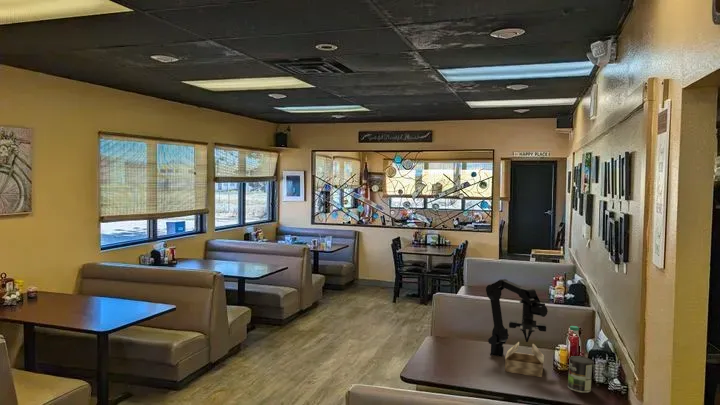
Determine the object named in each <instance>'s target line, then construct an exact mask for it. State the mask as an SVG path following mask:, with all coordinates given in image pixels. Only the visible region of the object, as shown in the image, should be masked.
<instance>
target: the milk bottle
mask: <svg viewBox="0 0 720 405" xmlns="http://www.w3.org/2000/svg"><path fill="white" fill-rule="evenodd" d="M570 330H573V332H574V333H576V334H577V335H578V337H579V346H580V352H581V350H582V341H581V337H580V335H579V330H580V327H578V326H576V325H570V326H569V331H570ZM568 336H569V334H568ZM568 336H567V337H566V341H565V345H566V344H567V343H568ZM581 353H582V352H581Z"/></svg>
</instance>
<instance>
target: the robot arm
mask: <svg viewBox="0 0 720 405" xmlns="http://www.w3.org/2000/svg"><path fill="white" fill-rule="evenodd" d="M505 289H506V290H508V291H510V292H512V293H514V294H517V296H518V297H519V298H521V300H520V301H519V303H520V304H522V313H521V314H522V316H521V322H520V323H519V322H518V321H517V320H509V322H508V328H510V329H516V328H517V327H518V328H520V329H519V330H520V331H521V332H522V333H523V337H524V340H525V342H526V343H528V342H529V339H530V337H531V336H532V333H535V332H536V331H535V330H536V329H537V330H538V331H539V332H547V324H545V323H538V324H537V320H534V316H539V317H543V318H545V317H546V316H547V315H548V311H549V310H548V307H547V306H546V303H543V302H541V300H540V298H539V297H538V294H537V292H536V290H535V289H534V288H530V287H522V286H521V285H518V284H517V283H514V282H511V280H510V281H509V280H508V279H506V278H503V279H502V278H501V279H499V280H497V281H495V282H493V283H491V284H488V285H487V286H486V287H485V292H486V296H487V297H488V299H489V300H490V306H491V313H492V320H493V321H492V322H493V328H492V330H491V336H490V337H489V338H488V340H487V341H488V344H490V353H489V355H490V356H493V357H503V355H504V352H505V346H504V344H506V343H507V340H508V339H509V333H508V332H509V330H508V328H505V327H504V322H503V316H502V307H501V301H500V300H501V297H502V292H503V291H504V290H505ZM527 330H528V332H527Z"/></svg>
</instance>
